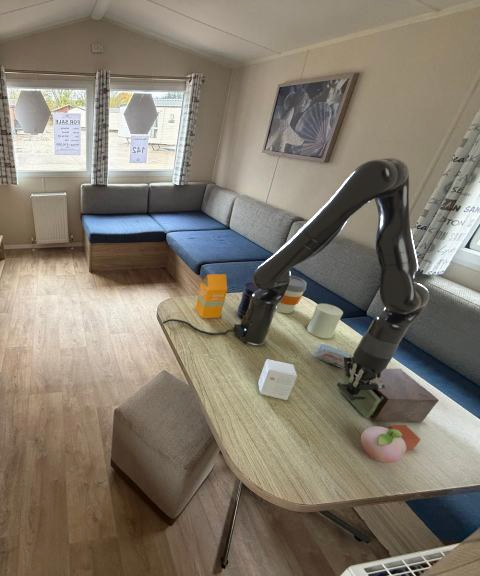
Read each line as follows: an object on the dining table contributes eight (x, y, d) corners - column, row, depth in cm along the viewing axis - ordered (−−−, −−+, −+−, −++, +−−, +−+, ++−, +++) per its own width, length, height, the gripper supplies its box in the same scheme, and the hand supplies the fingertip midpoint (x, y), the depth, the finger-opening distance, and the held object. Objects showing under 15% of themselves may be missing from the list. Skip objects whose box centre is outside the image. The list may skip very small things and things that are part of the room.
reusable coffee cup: (295, 305, 151) (305, 277, 144) (298, 317, 141) (309, 289, 134) (266, 299, 156) (275, 272, 148) (267, 311, 145) (277, 283, 138)
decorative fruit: (362, 435, 87) (378, 411, 82) (398, 459, 81) (418, 434, 76) (347, 452, 83) (363, 427, 78) (385, 478, 77) (405, 453, 72)
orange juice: (195, 309, 145) (203, 270, 136) (212, 308, 146) (222, 270, 137) (201, 318, 138) (210, 278, 129) (220, 317, 139) (230, 278, 130)
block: (396, 450, 84) (404, 439, 81) (382, 435, 88) (389, 424, 85) (412, 450, 84) (421, 439, 82) (397, 435, 88) (405, 424, 85)
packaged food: (349, 375, 109) (355, 364, 106) (310, 360, 115) (315, 349, 113) (351, 363, 115) (356, 352, 112) (314, 349, 121) (318, 339, 119)
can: (336, 333, 131) (347, 310, 125) (326, 341, 126) (338, 316, 120) (312, 323, 137) (322, 300, 132) (302, 329, 133) (312, 306, 127)
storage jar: (234, 309, 146) (241, 281, 139) (255, 311, 145) (264, 283, 138) (239, 321, 137) (248, 292, 130) (262, 323, 136) (272, 294, 129)
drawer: (350, 417, 91) (361, 399, 88) (325, 388, 102) (334, 370, 98) (409, 418, 92) (423, 400, 88) (378, 389, 102) (390, 372, 98)
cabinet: (373, 422, 91) (388, 399, 87) (343, 389, 103) (355, 367, 98) (421, 422, 92) (439, 400, 87) (386, 390, 103) (400, 368, 98)
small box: (283, 388, 102) (294, 364, 97) (287, 401, 98) (298, 376, 93) (257, 382, 104) (266, 358, 100) (259, 394, 100) (268, 369, 95)
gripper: (345, 334, 92) (324, 377, 100) (382, 364, 81) (354, 410, 89) (370, 334, 92) (346, 377, 100) (410, 365, 81) (380, 411, 89)
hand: (350, 393), depth 95 cm, fingers closed
